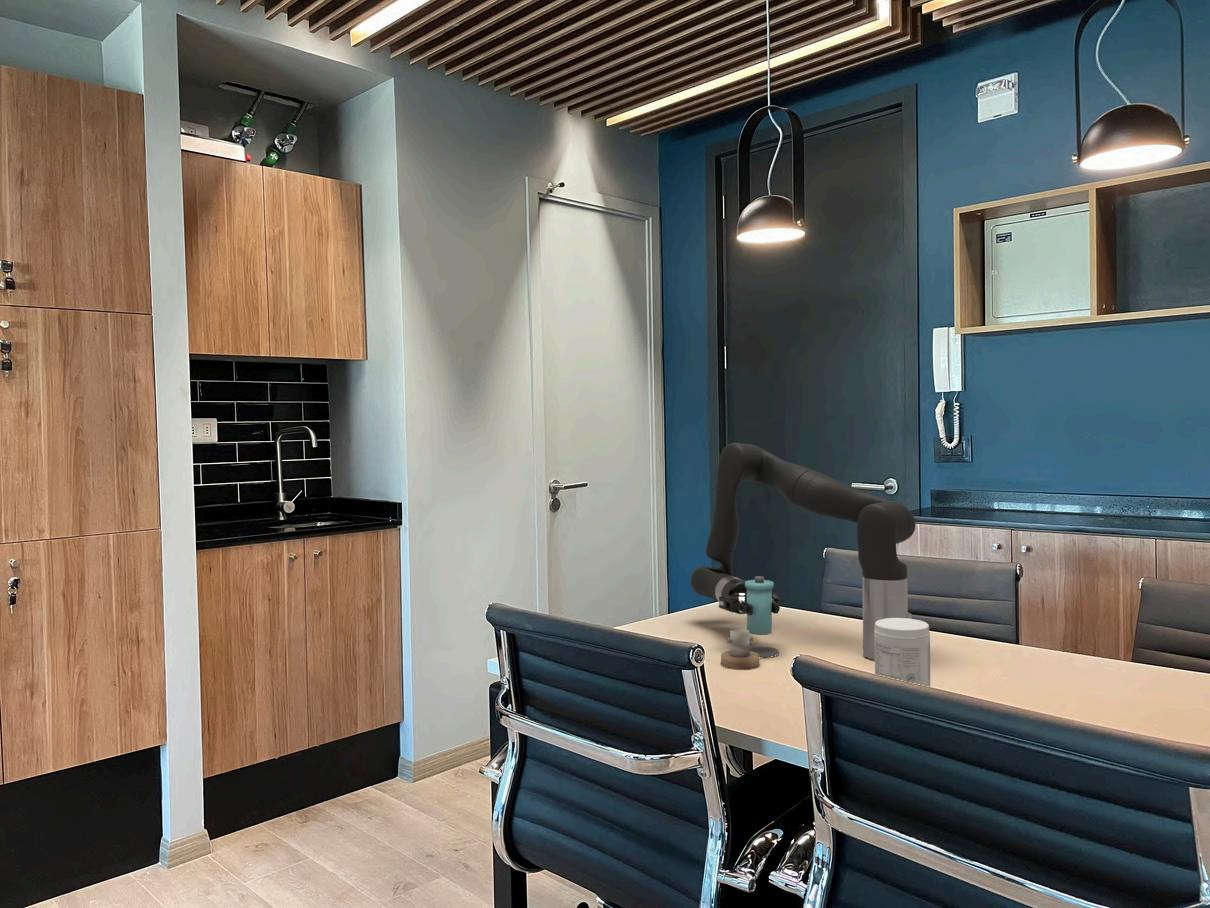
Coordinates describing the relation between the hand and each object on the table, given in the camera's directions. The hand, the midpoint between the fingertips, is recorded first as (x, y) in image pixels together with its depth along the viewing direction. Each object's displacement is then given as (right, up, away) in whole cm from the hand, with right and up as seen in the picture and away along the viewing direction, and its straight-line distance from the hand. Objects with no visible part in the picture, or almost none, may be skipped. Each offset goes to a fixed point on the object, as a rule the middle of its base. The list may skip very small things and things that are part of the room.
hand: (764, 609), depth 197 cm
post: (-6, -10, -6) cm, 13 cm away
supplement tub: (+19, -11, -34) cm, 40 cm away
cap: (-1, -5, +3) cm, 6 cm away
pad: (0, -10, +3) cm, 10 cm away
